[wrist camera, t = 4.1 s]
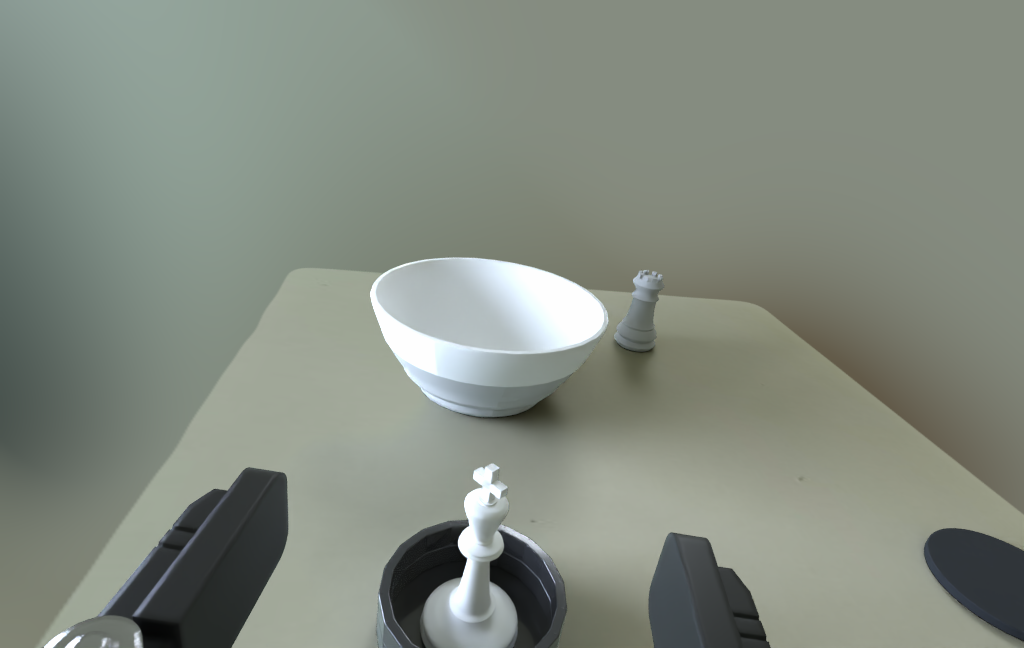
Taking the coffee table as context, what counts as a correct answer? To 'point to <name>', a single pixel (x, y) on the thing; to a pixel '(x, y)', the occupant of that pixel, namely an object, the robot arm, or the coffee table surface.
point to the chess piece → (474, 579)
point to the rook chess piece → (640, 314)
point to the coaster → (980, 575)
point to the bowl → (486, 331)
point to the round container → (441, 560)
